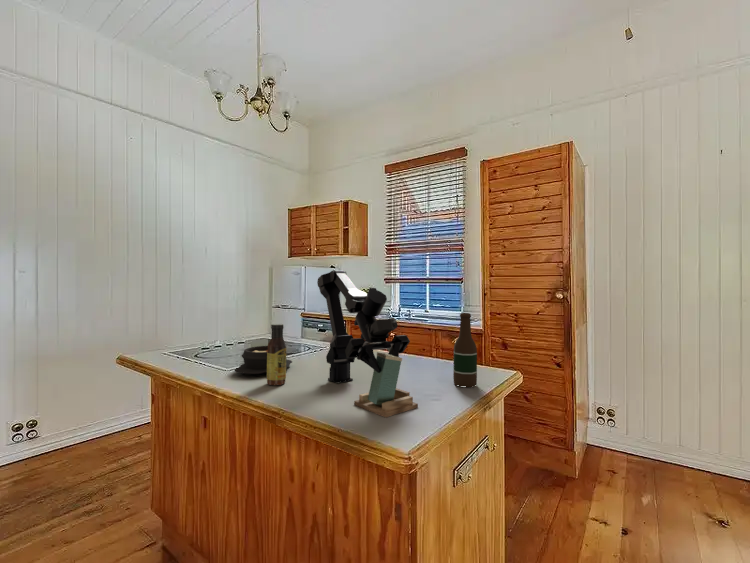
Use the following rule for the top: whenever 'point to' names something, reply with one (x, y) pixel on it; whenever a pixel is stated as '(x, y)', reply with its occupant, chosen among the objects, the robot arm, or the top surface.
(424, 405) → the top surface
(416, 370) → the top surface
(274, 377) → the sauce bottle
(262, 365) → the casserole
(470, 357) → the beer bottle
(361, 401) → the wooden square frame
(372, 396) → the tea tin
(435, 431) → the top surface
